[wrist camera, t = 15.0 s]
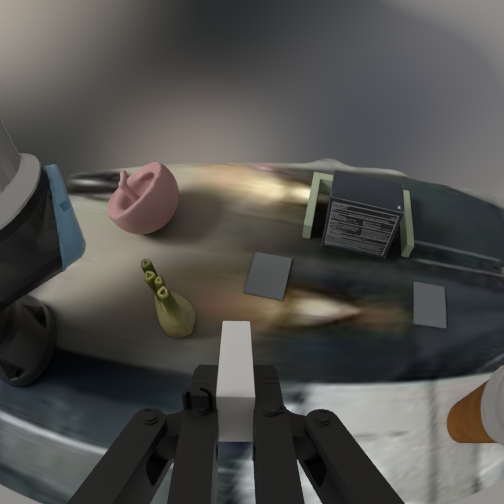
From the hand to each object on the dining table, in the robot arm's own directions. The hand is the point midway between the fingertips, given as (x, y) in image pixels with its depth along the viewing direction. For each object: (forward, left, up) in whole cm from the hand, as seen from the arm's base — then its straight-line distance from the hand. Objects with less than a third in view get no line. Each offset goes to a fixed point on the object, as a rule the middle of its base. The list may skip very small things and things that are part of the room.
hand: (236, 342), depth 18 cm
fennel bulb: (-12, +8, -22) cm, 26 cm away
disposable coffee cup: (+29, +1, -22) cm, 36 cm away
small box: (+10, +28, -22) cm, 37 cm away
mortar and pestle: (-24, +24, -22) cm, 40 cm away
